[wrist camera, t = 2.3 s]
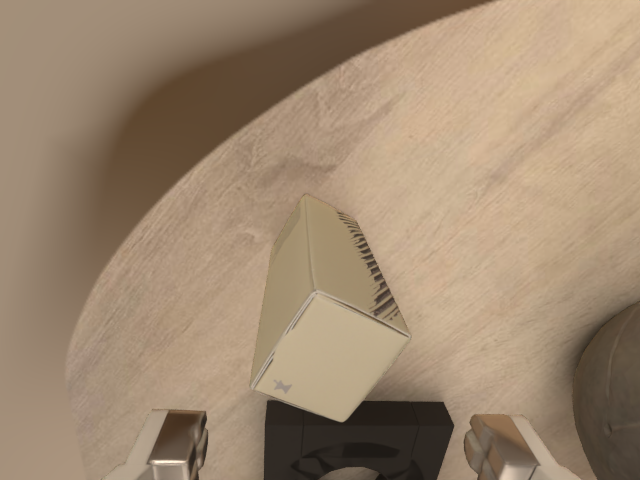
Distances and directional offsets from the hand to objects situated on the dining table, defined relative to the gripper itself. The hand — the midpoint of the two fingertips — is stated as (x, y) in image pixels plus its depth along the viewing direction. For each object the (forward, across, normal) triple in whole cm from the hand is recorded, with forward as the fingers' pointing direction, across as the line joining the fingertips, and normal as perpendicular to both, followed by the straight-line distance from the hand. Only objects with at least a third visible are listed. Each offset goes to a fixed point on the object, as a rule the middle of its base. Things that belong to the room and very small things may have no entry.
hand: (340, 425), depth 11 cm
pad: (+15, -5, +25) cm, 30 cm away
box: (+15, 0, 0) cm, 15 cm away
